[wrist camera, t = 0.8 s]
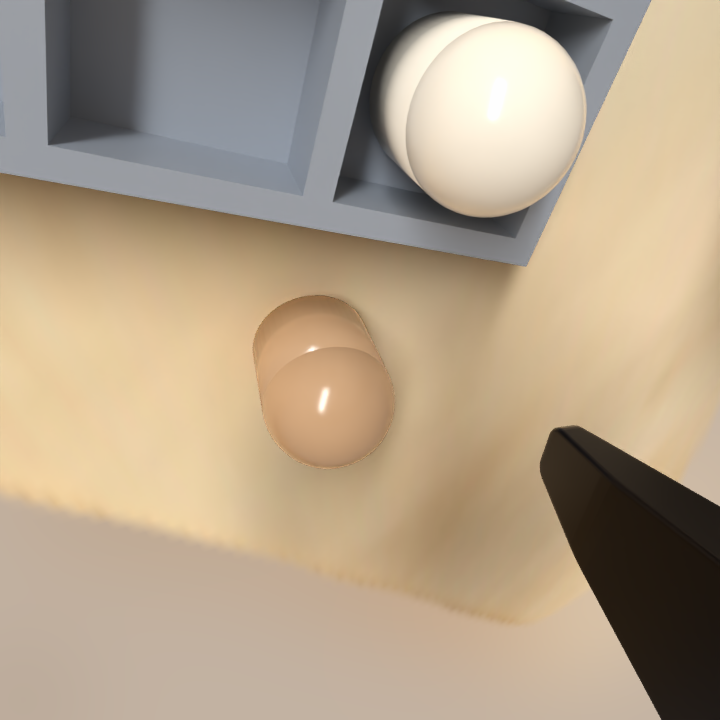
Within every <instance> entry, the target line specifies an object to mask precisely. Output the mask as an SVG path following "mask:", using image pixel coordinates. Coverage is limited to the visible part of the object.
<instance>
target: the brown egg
mask: <svg viewBox="0 0 720 720" xmlns="http://www.w3.org/2000/svg"><path fill="white" fill-rule="evenodd" d="M253 356H254V362H255V369H256V375H257V381H258V387H259V393H260V399H261V406H262V412H263V417H264V421H265V424H266V427H267V429H268V431H269V433H270V435H271V437H272V439H273V440H274V441H275V443H276V444H277V445H278V446H279V448H280V449H281V450H282V451H284V452H285V453H286V454H287V455H288V456H290V457H291V458H293V459H294V460H296V461H298V462H300V463H302V464H304V465H307V466H311V467H315V468H321V469H334V468H341V467H345V466H348V465H351V464H354V463H356V462H358V461H360V460H362V459H364V458H365V457H367V456H368V455H369V454H370V453H372V452H373V451H374V450H375V449H376V448H377V447H378V445H379V444H380V443H381V442H382V441H383V439H384V437H385V436H386V434H387V432H388V430H389V428H390V425H391V422H392V419H393V414H394V405H395V397H394V390H393V385H392V382H391V379H390V377H389V374H388V372H387V370H386V368H385V366H384V364H383V362H382V359H381V357H380V355H379V353H378V351H377V349H376V347H375V345H374V343H373V341H372V339H371V337H370V335H369V333H368V331H367V328H366V326H365V324H364V322H363V320H362V319H361V317H360V315H359V314H358V313H357V312H356V311H355V310H354V309H353V308H352V307H351V306H349V305H348V304H346V303H345V302H343V301H341V300H338V299H335V298H332V297H327V296H318V295H315V296H305V297H300V298H296V299H293V300H291V301H288V302H286V303H284V304H282V305H280V306H279V307H277V308H276V309H275V310H273V311H272V312H271V313H270V314H269V315H268V316H267V317H266V318H265V319H264V320H263V321H262V323H261V325H260V326H259V328H258V330H257V332H256V334H255V338H254V342H253Z"/></svg>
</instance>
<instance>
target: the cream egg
mask: <svg viewBox="0 0 720 720" xmlns="http://www.w3.org/2000/svg"><path fill="white" fill-rule="evenodd" d="M369 106H370V118H371V123H372V127H373V131H374V133H375V136H376V138H377V140H378V142H379V144H380V146H381V147H382V149H383V150H384V152H385V153H386V154H387V155H388V156H389V157H390V158H391V159H392V160H393V161H394V162H395V163H396V164H397V165H398V166H399V167H400V168H401V169H402V170H403V171H404V172H405V173H406V174H407V175H408V176H409V177H410V178H411V179H412V180H413V181H414V182H415V183H416V184H417V185H418V186H420V187H421V188H422V189H423V190H424V191H425V192H426V193H427V194H428V195H429V196H430V197H431V198H432V199H433V200H435V201H436V202H438V203H439V204H441V205H442V206H444V207H445V208H447V209H449V210H452V211H454V212H457V213H460V214H463V215H466V216H472V217H482V218H484V217H498V216H504V215H508V214H512V213H515V212H518V211H520V210H523V209H525V208H527V207H528V206H530V205H532V204H534V203H535V202H537V201H538V200H540V199H541V198H543V197H544V196H545V195H547V194H548V193H549V192H550V191H551V190H552V189H553V188H554V187H555V186H556V185H557V184H558V183H559V182H560V181H561V179H562V178H563V177H564V176H565V174H566V173H567V171H568V170H569V168H570V167H571V165H572V163H573V161H574V160H575V158H576V156H577V153H578V151H579V148H580V146H581V142H582V139H583V136H584V130H585V125H586V113H587V107H586V96H585V90H584V86H583V82H582V79H581V76H580V73H579V71H578V69H577V67H576V65H575V63H574V62H573V60H572V59H571V57H570V56H569V54H568V53H567V51H566V50H565V49H564V48H563V47H562V46H561V45H560V44H559V43H558V42H557V41H556V40H555V39H553V38H552V37H551V36H549V35H548V34H546V33H545V32H543V31H541V30H539V29H537V28H535V27H532V26H529V25H526V24H522V23H519V22H514V21H508V20H502V19H497V18H491V17H485V16H480V15H474V14H468V13H463V12H455V11H444V12H437V13H433V14H429V15H427V16H424V17H422V18H420V19H418V20H416V21H414V22H413V23H411V24H410V25H408V26H407V27H406V28H404V29H403V30H402V31H401V32H400V33H399V34H398V35H397V36H396V37H395V38H394V39H393V40H392V42H391V43H390V44H389V46H388V47H387V48H386V50H385V52H384V53H383V55H382V57H381V59H380V61H379V63H378V65H377V67H376V70H375V73H374V76H373V79H372V84H371V89H370V100H369Z"/></svg>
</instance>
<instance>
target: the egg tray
mask: <svg viewBox="0 0 720 720" xmlns="http://www.w3.org/2000/svg"><path fill="white" fill-rule="evenodd" d="M650 2H651V0H0V173H6V174H11V175H17V176H22V177H28V178H34V179H39V180H45V181H50V182H56V183H61V184H67V185H73V186H78V187H84V188H89V189H95V190H101V191H106V192H112V193H117V194H123V195H129V196H134V197H140V198H145V199H151V200H156V201H162V202H168V203H173V204H179V205H184V206H190V207H196V208H201V209H207V210H212V211H218V212H223V213H229V214H235V215H240V216H246V217H251V218H257V219H263V220H268V221H274V222H279V223H285V224H291V225H296V226H302V227H307V228H313V229H318V230H324V231H330V232H335V233H341V234H346V235H352V236H358V237H363V238H369V239H374V240H380V241H385V242H391V243H397V244H402V245H408V246H413V247H419V248H425V249H430V250H436V251H441V252H447V253H453V254H458V255H464V256H469V257H475V258H480V259H486V260H492V261H497V262H503V263H508V264H514V265H520V266H525V267H526V266H527V264H528V262H529V259H530V257H531V255H532V253H533V251H534V249H535V247H536V245H537V242H538V240H539V238H540V236H541V234H542V232H543V230H544V228H545V225H546V223H547V221H548V219H549V217H550V215H551V213H552V211H553V208H554V206H555V204H556V202H557V200H558V198H559V196H560V194H561V191H562V189H563V187H564V185H565V183H566V181H567V179H568V177H569V174H570V172H571V170H572V168H573V166H574V164H575V162H576V159H577V157H578V155H579V153H580V151H581V149H582V147H583V145H584V142H585V140H586V138H587V136H588V134H589V132H590V130H591V128H592V125H593V123H594V121H595V119H596V117H597V115H598V113H599V111H600V108H601V106H602V104H603V102H604V100H605V98H606V96H607V94H608V91H609V89H610V87H611V85H612V83H613V81H614V79H615V77H616V74H617V72H618V70H619V68H620V66H621V64H622V62H623V60H624V57H625V55H626V53H627V51H628V49H629V47H630V45H631V43H632V40H633V38H634V36H635V34H636V32H637V30H638V28H639V26H640V23H641V21H642V19H643V17H644V15H645V13H646V11H647V9H648V6H649V4H650ZM444 11H455V12H463V13H468V14H474V15H480V16H485V17H491V18H497V19H502V20H508V21H514V22H519V23H522V24H526V25H529V26H532V27H535V28H537V29H539V30H541V31H543V32H545V33H546V34H548V35H549V36H551V37H552V38H553V39H555V40H556V41H557V42H558V43H559V44H560V45H561V46H562V47H563V48H564V49H565V50H566V51H567V53H568V54H569V56H570V57H571V59H572V60H573V62H574V63H575V65H576V67H577V69H578V71H579V73H580V76H581V79H582V82H583V86H584V90H585V96H586V107H587V113H586V125H585V130H584V136H583V139H582V142H581V146H580V148H579V151H578V153H577V156H576V158H575V160H574V161H573V163H572V165H571V167H570V168H569V170H568V171H567V173H566V174H565V176H564V177H563V178H562V179H561V181H560V182H559V183H558V184H557V185H556V186H555V187H554V188H553V189H552V190H551V191H550V192H549V193H548V194H547V195H545V196H544V197H543V198H541V199H540V200H538V201H537V202H535V203H534V204H532V205H530V206H528V207H527V208H525V209H523V210H520V211H518V212H515V213H512V214H508V215H504V216H498V217H484V218H482V217H472V216H466V215H463V214H460V213H457V212H454V211H452V210H449V209H447V208H445V207H444V206H442V205H441V204H439V203H438V202H436V201H435V200H433V199H432V198H431V197H430V196H429V195H428V194H427V193H426V192H425V191H424V190H423V189H422V188H421V187H420V186H418V185H417V184H416V183H415V182H414V181H413V180H412V179H411V178H410V177H409V176H408V175H407V174H406V173H405V172H404V171H403V170H402V169H401V168H400V167H399V166H398V165H397V164H396V163H395V162H394V161H393V160H392V159H391V158H390V157H389V156H388V155H387V154H386V153H385V152H384V150H383V149H382V147H381V146H380V144H379V142H378V140H377V138H376V136H375V133H374V131H373V127H372V123H371V118H370V106H369V100H370V89H371V84H372V79H373V76H374V73H375V70H376V67H377V65H378V63H379V61H380V59H381V57H382V55H383V53H384V52H385V50H386V48H387V47H388V46H389V44H390V43H391V42H392V40H393V39H394V38H395V37H396V36H397V35H398V34H399V33H400V32H401V31H402V30H403V29H404V28H406V27H407V26H408V25H410V24H411V23H413V22H414V21H416V20H418V19H420V18H422V17H424V16H427V15H429V14H433V13H437V12H444Z"/></svg>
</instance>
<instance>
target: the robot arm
mask: <svg viewBox="0 0 720 720" xmlns="http://www.w3.org/2000/svg"><path fill="white" fill-rule="evenodd" d="M540 473H541V477H542V479H543V482H544V484H545V487H546V489H547V491H548V494H549V496H550V499H551V501H552V504H553V506H554V509H555V511H556V513H557V516H558V518H559V521H560V523H561V526H562V528H563V530H564V533H565V535H566V538H567V540H568V543H569V545H570V547H571V549H572V552H573V554H574V556H575V558H576V560H577V562H578V564H579V566H580V568H581V570H582V572H583V574H584V576H585V578H586V580H587V582H588V583H589V585H590V587H591V589H592V591H593V593H594V595H595V596H596V598H597V600H598V602H599V604H600V606H601V608H602V610H603V611H604V613H605V615H606V617H607V619H608V621H609V623H610V625H611V626H612V628H613V630H614V632H615V634H616V636H617V638H618V639H619V641H620V643H621V645H622V647H623V648H624V650H625V652H626V654H627V656H628V658H629V660H630V662H631V664H632V666H633V668H634V669H635V671H636V673H637V675H638V677H639V679H640V681H641V682H642V684H643V686H644V688H645V690H646V692H647V694H648V695H649V697H650V699H651V701H652V703H653V704H654V707H655V708H656V710H657V712H658V714H659V716H660V718H661V720H720V506H718V505H716V504H714V503H713V502H711V501H709V500H708V499H706V498H704V497H702V496H701V495H699V494H697V493H695V492H694V491H691V490H690V489H688V488H686V487H685V486H683V485H681V484H680V483H678V482H676V481H674V480H673V479H671V478H669V477H667V476H666V475H664V474H662V473H660V472H659V471H657V470H655V469H653V468H652V467H650V466H648V465H646V464H645V463H643V462H641V461H639V460H638V459H636V458H634V457H632V456H631V455H629V454H627V453H625V452H624V451H622V450H620V449H618V448H617V447H615V446H613V445H611V444H610V443H608V442H606V441H604V440H603V439H601V438H599V437H597V436H596V435H594V434H592V433H590V432H589V431H587V430H585V429H583V428H581V427H579V426H575V425H573V426H565V427H558V428H555V429H553V430H552V431H551V433H550V435H549V438H548V440H547V443H546V446H545V449H544V452H543V455H542V458H541V461H540Z"/></svg>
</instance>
